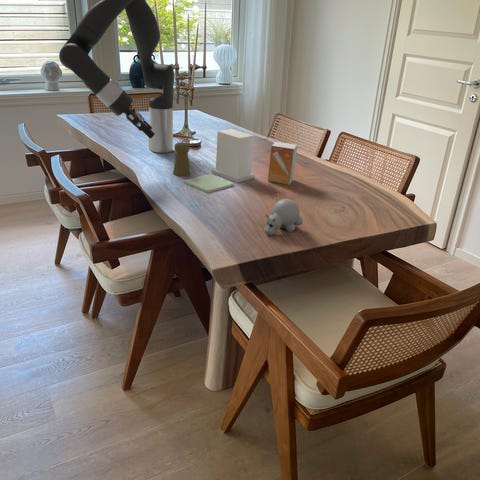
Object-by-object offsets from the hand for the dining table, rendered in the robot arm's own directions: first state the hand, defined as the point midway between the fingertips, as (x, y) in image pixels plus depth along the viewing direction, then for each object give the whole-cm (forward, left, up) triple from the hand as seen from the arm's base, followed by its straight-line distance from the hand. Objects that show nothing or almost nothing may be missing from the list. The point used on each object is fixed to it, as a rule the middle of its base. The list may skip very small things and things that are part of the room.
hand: (151, 133), depth 154 cm
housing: (+17, +23, -14) cm, 32 cm away
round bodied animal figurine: (+58, +1, -15) cm, 60 cm away
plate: (+19, +9, -14) cm, 26 cm away
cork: (+5, +9, -15) cm, 18 cm away
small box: (+31, +33, -15) cm, 48 cm away
